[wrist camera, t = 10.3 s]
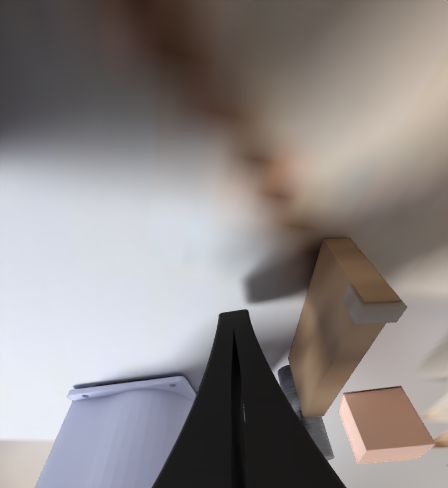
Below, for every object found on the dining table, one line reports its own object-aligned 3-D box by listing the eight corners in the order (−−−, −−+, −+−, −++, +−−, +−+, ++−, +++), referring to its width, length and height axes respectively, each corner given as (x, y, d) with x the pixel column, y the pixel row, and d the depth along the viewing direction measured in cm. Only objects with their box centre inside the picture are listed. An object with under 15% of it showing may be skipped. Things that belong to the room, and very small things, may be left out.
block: (338, 411, 24) (357, 464, 21) (343, 392, 21) (366, 450, 18) (388, 406, 23) (416, 459, 20) (400, 385, 20) (435, 444, 17)
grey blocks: (278, 379, 18) (296, 464, 14) (276, 366, 17) (296, 456, 13) (495, 352, 17) (583, 439, 13) (512, 336, 16) (615, 426, 12)
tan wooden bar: (306, 357, 16) (326, 420, 13) (286, 358, 16) (302, 421, 13) (352, 237, 10) (408, 304, 7) (321, 239, 10) (364, 306, 7)
